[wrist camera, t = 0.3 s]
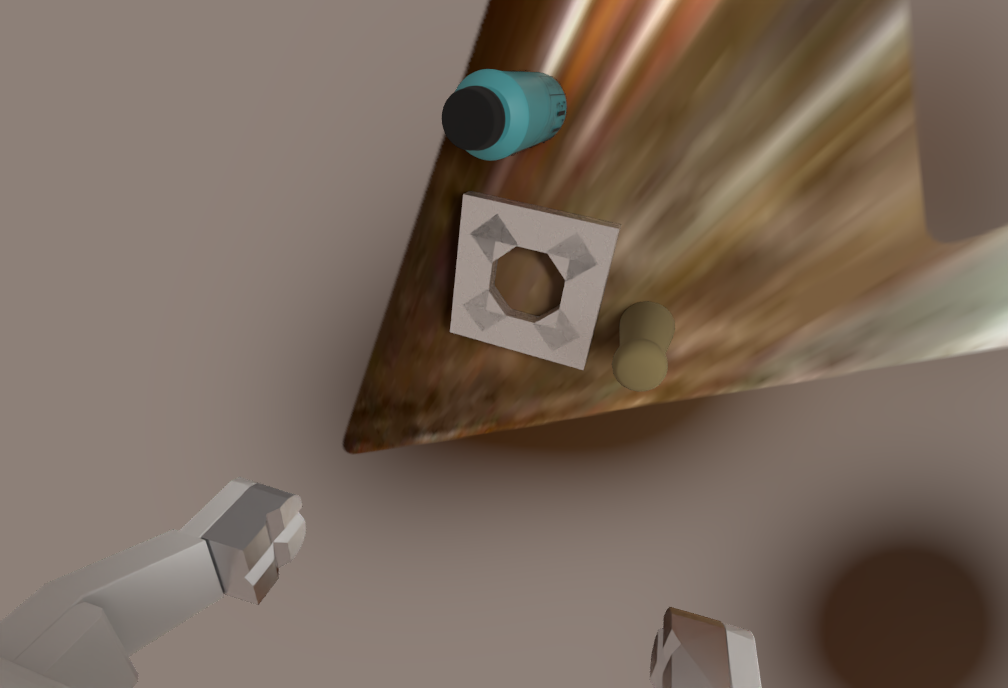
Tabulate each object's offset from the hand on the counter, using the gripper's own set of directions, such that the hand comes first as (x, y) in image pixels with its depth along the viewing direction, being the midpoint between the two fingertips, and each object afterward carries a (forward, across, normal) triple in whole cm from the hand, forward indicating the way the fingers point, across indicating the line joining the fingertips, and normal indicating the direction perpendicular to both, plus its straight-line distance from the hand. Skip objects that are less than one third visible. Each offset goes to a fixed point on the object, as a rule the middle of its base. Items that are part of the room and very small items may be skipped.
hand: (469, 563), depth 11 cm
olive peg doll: (+47, -6, +17) cm, 50 cm away
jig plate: (+47, +8, +14) cm, 50 cm away
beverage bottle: (+48, +10, -4) cm, 49 cm away
